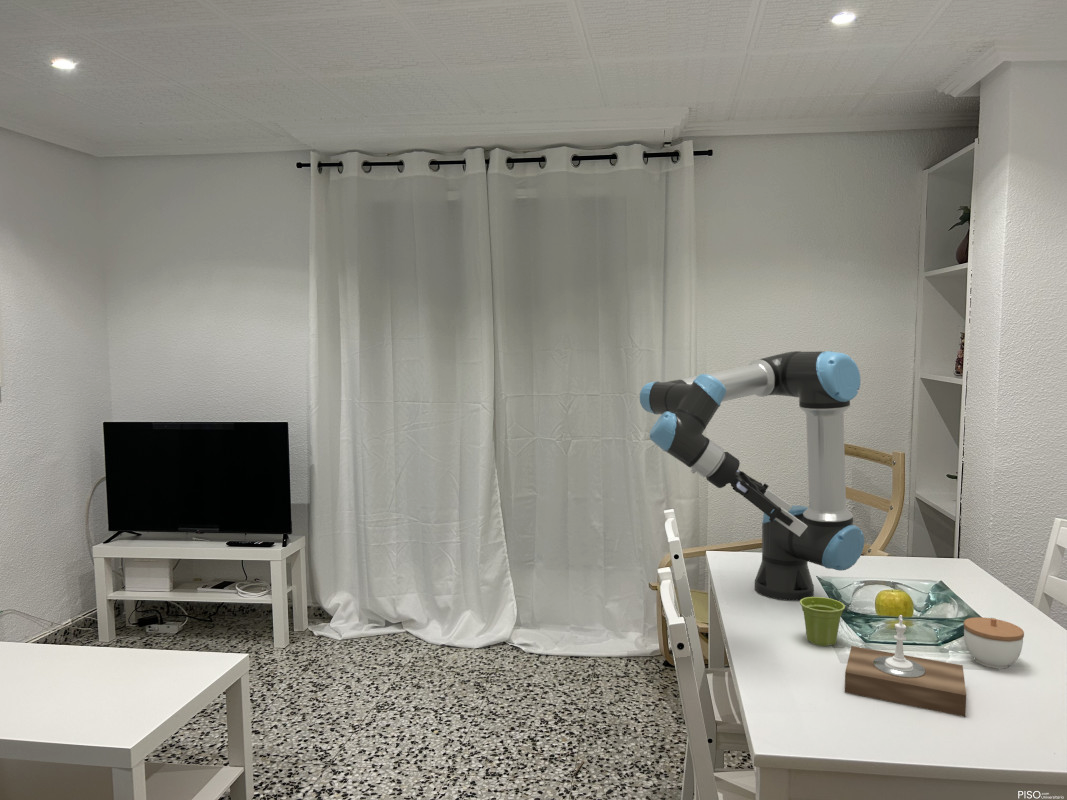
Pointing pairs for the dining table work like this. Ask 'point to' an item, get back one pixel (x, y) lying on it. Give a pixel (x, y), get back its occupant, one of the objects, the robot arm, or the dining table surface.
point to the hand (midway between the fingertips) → (795, 520)
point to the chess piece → (899, 651)
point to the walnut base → (907, 681)
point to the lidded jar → (993, 641)
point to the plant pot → (822, 619)
